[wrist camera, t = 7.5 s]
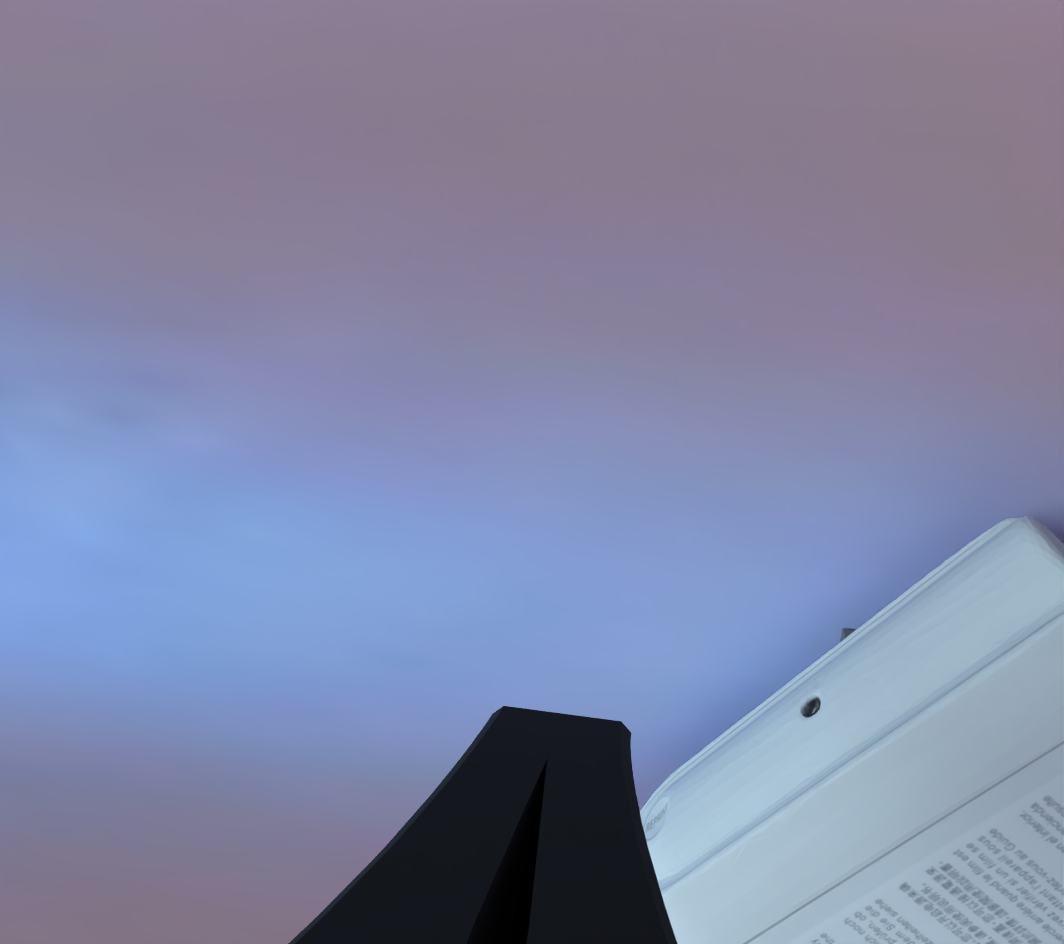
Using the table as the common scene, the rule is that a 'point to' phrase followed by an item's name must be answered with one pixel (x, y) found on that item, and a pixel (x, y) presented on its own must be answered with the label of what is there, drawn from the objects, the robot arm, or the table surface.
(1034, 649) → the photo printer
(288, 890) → the table surface
